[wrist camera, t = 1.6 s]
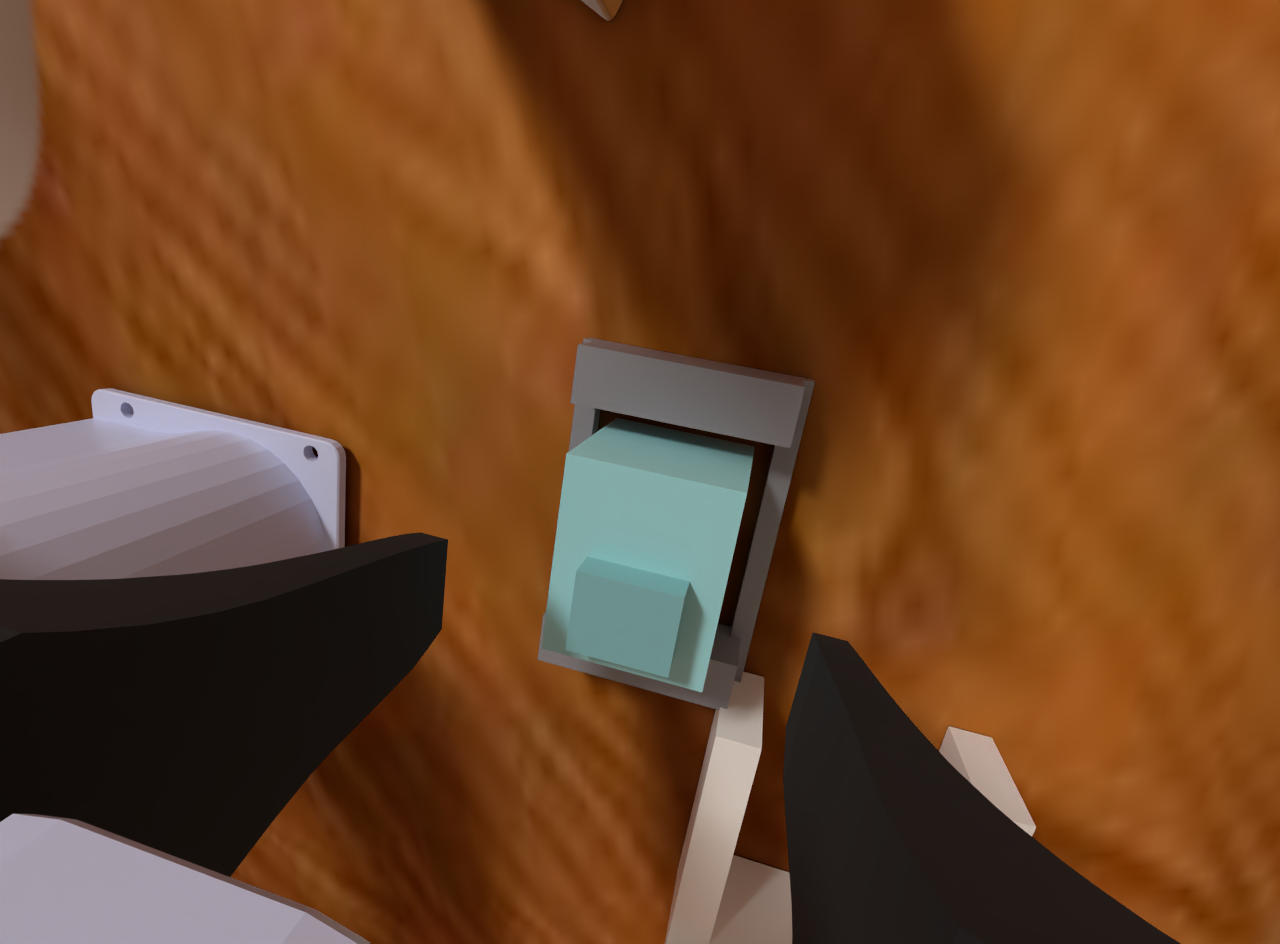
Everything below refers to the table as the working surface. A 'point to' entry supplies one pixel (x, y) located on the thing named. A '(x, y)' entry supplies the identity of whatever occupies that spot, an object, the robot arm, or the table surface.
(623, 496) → the plug
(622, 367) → the frame
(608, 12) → the small box
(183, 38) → the table surface
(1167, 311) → the table surface
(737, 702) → the port
